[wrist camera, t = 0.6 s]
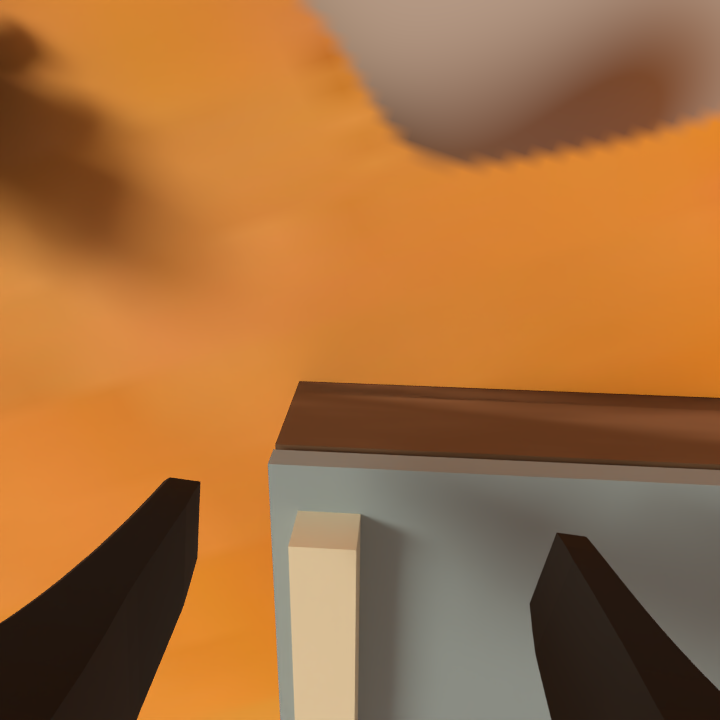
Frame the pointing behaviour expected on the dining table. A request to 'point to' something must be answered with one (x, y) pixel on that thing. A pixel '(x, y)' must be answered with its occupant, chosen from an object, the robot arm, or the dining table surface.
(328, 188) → the dining table surface
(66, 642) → the robot arm
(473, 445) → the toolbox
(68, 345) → the dining table surface
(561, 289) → the dining table surface
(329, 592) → the lid
